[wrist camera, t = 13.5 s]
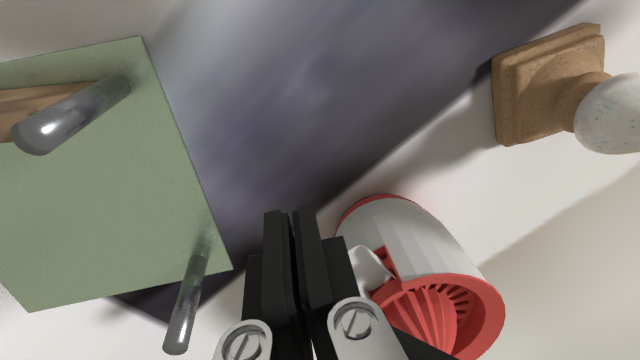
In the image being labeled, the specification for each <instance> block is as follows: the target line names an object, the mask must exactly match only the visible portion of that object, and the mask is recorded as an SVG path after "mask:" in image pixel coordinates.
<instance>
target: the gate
mask: <svg viewBox="0 0 640 360" xmlns="http://www.w3.org/2000/svg"><path fill="white" fill-rule="evenodd" d="M93 83H95V82H85V83H74V84H63V85H52V86H41V87H30V88H19V89H8V90H0V143H9V142H13V140H12V138H11V134H10V132H11V128H12V126H13V125H14V124H16V123H17V122H19V121H21V120H23V119H25V118H27V117H29V116H31V115H33V114H35V113H37V112H39V111H41V110H43V109H45V108H46V107H48V106H50V105H52V104H54V103H56V102H58V101H60V100H62V99H64V98H66V97H68V96H70V95H72V94H74V93H76V92H78V91H80V90H82V89H84V88H86V87H87V86H89V85H91V84H93Z"/></svg>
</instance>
